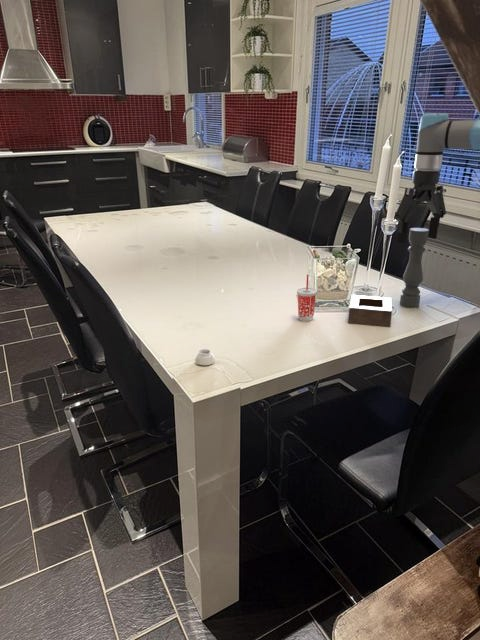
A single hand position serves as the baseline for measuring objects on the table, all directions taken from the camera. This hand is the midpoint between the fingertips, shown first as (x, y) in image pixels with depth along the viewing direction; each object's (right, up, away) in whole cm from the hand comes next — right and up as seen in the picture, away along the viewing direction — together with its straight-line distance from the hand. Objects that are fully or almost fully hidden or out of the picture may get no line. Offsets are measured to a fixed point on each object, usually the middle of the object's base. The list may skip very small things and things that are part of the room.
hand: (417, 240), depth 147 cm
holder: (-16, -24, -2) cm, 29 cm away
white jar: (-65, -36, -29) cm, 79 cm away
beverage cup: (-35, -25, -2) cm, 43 cm away
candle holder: (0, -20, +8) cm, 22 cm away
